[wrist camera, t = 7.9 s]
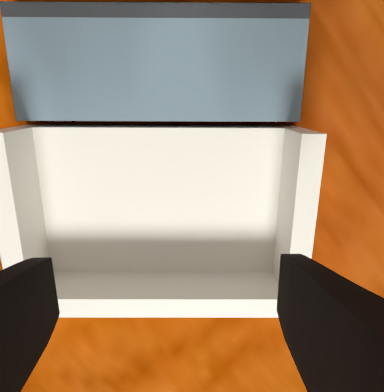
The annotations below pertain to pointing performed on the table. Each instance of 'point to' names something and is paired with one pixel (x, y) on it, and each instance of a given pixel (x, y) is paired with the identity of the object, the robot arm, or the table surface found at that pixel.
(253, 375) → the table surface
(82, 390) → the table surface
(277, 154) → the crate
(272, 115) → the panel
